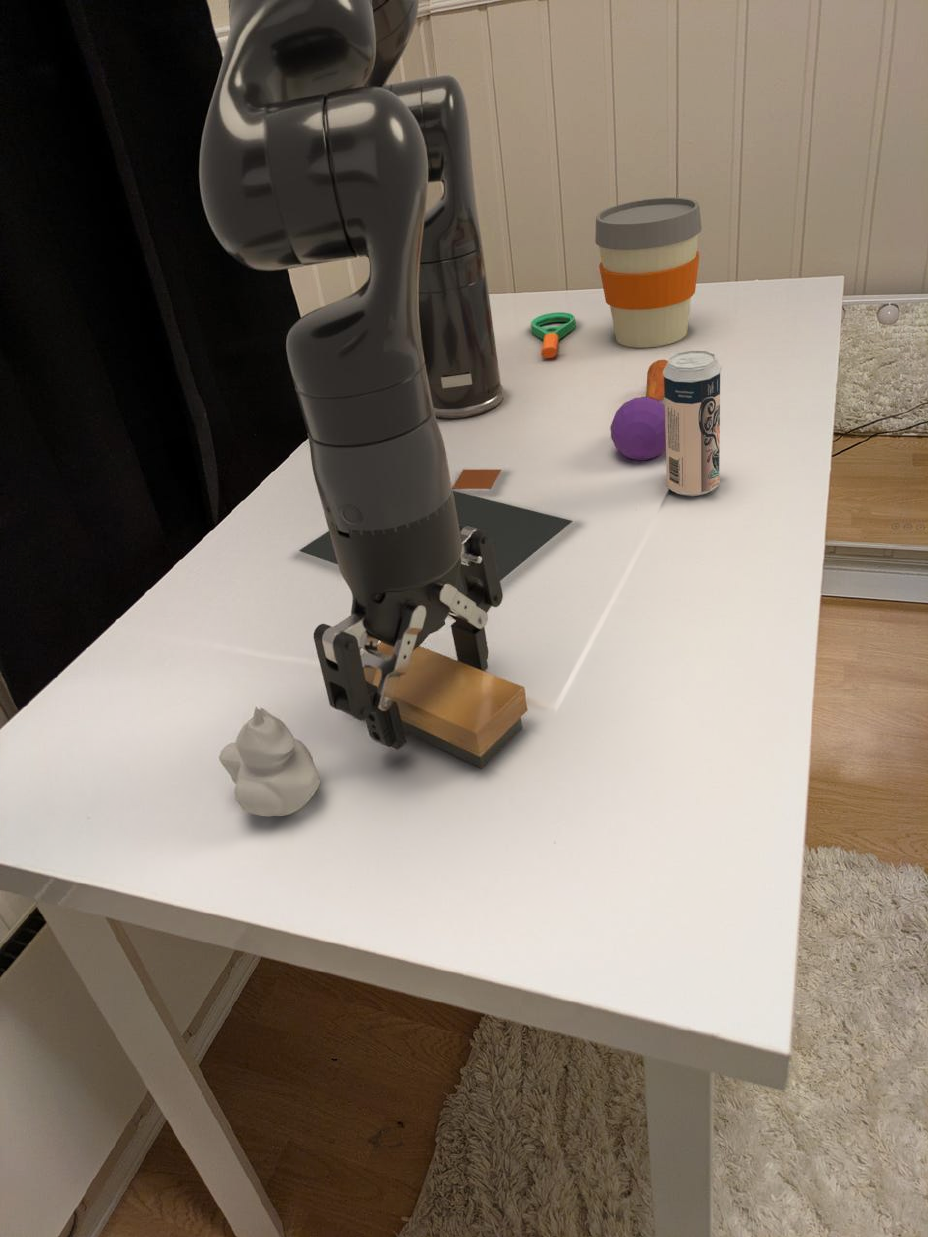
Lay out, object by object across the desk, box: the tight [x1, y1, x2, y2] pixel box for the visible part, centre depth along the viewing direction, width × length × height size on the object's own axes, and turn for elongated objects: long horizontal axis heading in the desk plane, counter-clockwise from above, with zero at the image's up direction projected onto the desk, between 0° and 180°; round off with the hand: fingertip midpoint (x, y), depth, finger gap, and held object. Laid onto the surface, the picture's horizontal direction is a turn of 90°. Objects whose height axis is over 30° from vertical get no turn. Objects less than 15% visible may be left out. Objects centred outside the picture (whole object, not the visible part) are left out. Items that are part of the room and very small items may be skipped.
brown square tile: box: [452, 468, 502, 490], centre depth 90 cm, size 4×4×1 cm
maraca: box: [610, 359, 668, 461], centre depth 93 cm, size 6×6×20 cm
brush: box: [373, 641, 529, 769], centre depth 61 cm, size 12×5×4 cm, turn 50°
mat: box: [298, 490, 573, 595], centre depth 82 cm, size 20×15×1 cm
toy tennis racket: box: [530, 311, 577, 359], centre depth 120 cm, size 15×6×2 cm, turn 173°
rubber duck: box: [218, 706, 321, 817], centre depth 56 cm, size 5×7×8 cm
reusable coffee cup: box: [594, 196, 703, 349], centre depth 112 cm, size 13×13×15 cm
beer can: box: [663, 350, 722, 497], centre depth 79 cm, size 5×5×12 cm
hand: (434, 704), depth 61 cm, fingers open, 8 cm apart
